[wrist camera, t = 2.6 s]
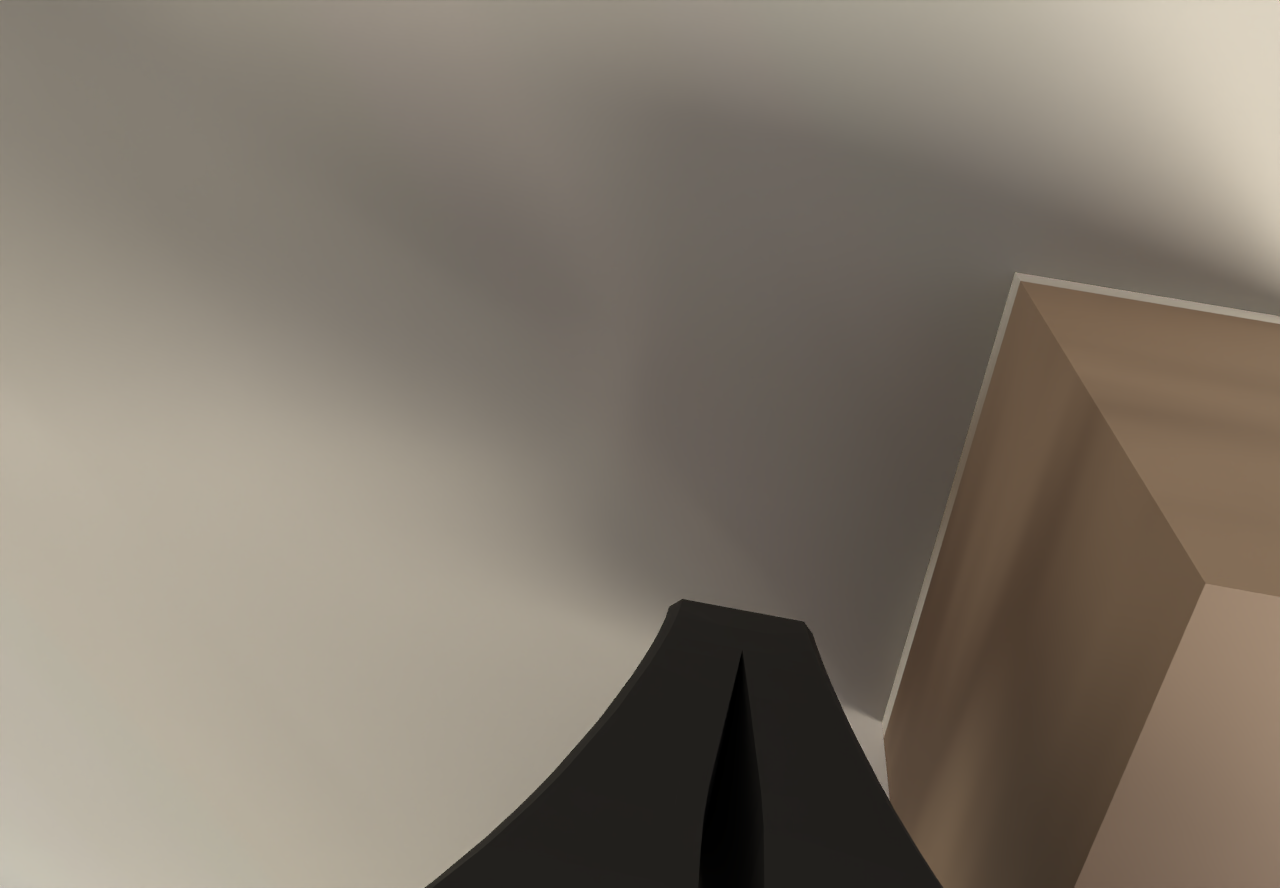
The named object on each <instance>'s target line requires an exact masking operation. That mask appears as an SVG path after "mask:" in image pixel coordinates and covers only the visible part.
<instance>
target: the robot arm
mask: <svg viewBox="0 0 1280 888" xmlns="http://www.w3.org/2000/svg"><path fill="white" fill-rule="evenodd" d="M425 888H943V887H942V885H941V884H940V882H939V881H938V879H937V878H936V876H935V875H934V873H933V871H932V870H931V868H930V867H929V865H928V864H927V862H926V861H925V859H924V857H923V856H922V854H921V853H920V851H919V850H918V848H917V846H916V845H915V843H914V841H913V840H912V838H911V836H910V835H909V833H908V831H907V830H906V828H905V826H904V825H903V823H902V821H901V820H900V818H899V816H898V815H897V813H896V811H895V810H894V808H893V806H892V804H891V802H890V801H889V799H888V797H887V795H886V794H885V792H884V790H883V788H882V786H881V785H880V783H879V781H878V779H877V777H876V775H875V773H874V771H873V769H872V767H871V765H870V763H869V762H868V760H867V758H866V756H865V754H864V752H863V750H862V748H861V746H860V744H859V742H858V740H857V738H856V736H855V734H854V732H853V730H852V728H851V726H850V724H849V722H848V720H847V718H846V716H845V713H844V711H843V709H842V707H841V704H840V702H839V700H838V698H837V695H836V693H835V691H834V689H833V687H832V684H831V682H830V679H829V677H828V675H827V672H826V670H825V667H824V665H823V662H822V660H821V657H820V654H819V651H818V649H817V646H816V643H815V640H814V637H813V634H812V633H811V631H810V630H809V628H808V627H807V625H806V624H805V623H804V622H802V621H797V620H791V619H786V618H781V617H775V616H770V615H765V614H759V613H754V612H749V611H743V610H738V609H732V608H727V607H722V606H716V605H711V604H706V603H700V602H695V601H690V600H684V599H682V600H680V601H678V602H677V603H675V604H673V605H671V606H670V607H669V609H668V612H667V615H666V618H665V620H664V623H663V625H662V627H661V629H660V631H659V633H658V635H657V637H656V638H655V640H654V642H653V644H652V645H651V647H650V649H649V650H648V652H647V653H646V655H645V657H644V658H643V660H642V661H641V663H640V664H639V666H638V667H637V669H636V670H635V672H634V673H633V675H632V676H631V678H630V679H629V680H628V682H627V683H626V684H625V686H624V687H623V688H622V690H621V691H620V692H619V694H618V695H617V696H616V698H615V699H614V700H613V702H612V703H611V704H610V706H609V707H608V709H607V710H606V711H605V713H604V714H603V715H602V716H601V718H600V719H599V720H598V721H597V723H596V724H595V725H594V726H593V727H592V729H591V730H590V731H589V732H588V733H587V734H586V735H585V737H584V738H583V739H582V740H581V741H580V742H579V743H578V744H577V746H576V747H575V748H574V749H573V750H572V751H571V752H570V754H569V755H568V756H567V757H566V758H565V759H564V760H563V762H562V763H561V764H560V765H559V766H558V767H557V768H556V770H555V771H554V772H553V773H552V774H551V775H550V776H549V777H548V778H547V779H546V780H545V781H544V782H543V783H542V784H541V785H540V786H539V787H538V788H537V789H536V790H535V791H534V792H533V793H532V794H531V795H530V796H529V797H528V798H527V799H526V800H525V801H524V802H523V803H522V804H521V805H520V806H519V807H518V808H517V809H516V810H515V811H514V812H513V813H512V814H511V815H510V816H509V817H507V818H506V819H505V820H504V821H503V822H502V823H501V824H500V825H499V826H498V827H497V828H496V829H495V830H493V831H492V832H491V833H490V834H489V835H488V836H487V837H486V838H485V839H483V840H482V841H481V842H480V843H479V844H478V845H476V846H475V847H474V848H473V849H471V850H470V851H469V852H468V853H467V854H465V855H464V856H463V857H462V858H461V859H459V860H458V861H457V862H456V863H455V864H453V865H452V866H451V867H450V868H449V869H447V870H446V871H445V872H444V873H443V874H441V875H440V876H439V877H438V878H437V879H435V880H434V881H433V882H432V883H430V884H429V885H428V886H426V887H425Z"/></svg>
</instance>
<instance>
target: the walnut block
mask: <svg viewBox="0 0 1280 888" xmlns="http://www.w3.org/2000/svg"><path fill="white" fill-rule="evenodd" d="M882 727H883V737H884V747H885V757H886V767H887V777H888V786H889V796H890V802H891V804H892V806H893V808H894V810H895V811H896V813H897V815H898V816H899V818H900V820H901V821H902V823H903V825H904V826H905V828H906V830H907V831H908V833H909V835H910V836H911V838H912V840H913V841H914V843H915V845H916V846H917V848H918V850H919V851H920V853H921V854H922V856H923V857H924V859H925V861H926V862H927V864H928V865H929V867H930V868H931V870H932V871H933V873H934V875H935V876H936V878H937V879H938V881H939V882H940V884H941V885H942V887H943V888H1280V316H1276V315H1270V314H1264V313H1258V312H1252V311H1246V310H1240V309H1234V308H1228V307H1222V306H1216V305H1210V304H1204V303H1198V302H1192V301H1186V300H1180V299H1174V298H1168V297H1162V296H1156V295H1150V294H1144V293H1138V292H1132V291H1125V290H1119V289H1113V288H1107V287H1101V286H1095V285H1089V284H1083V283H1077V282H1071V281H1065V280H1059V279H1053V278H1047V277H1041V276H1035V275H1029V274H1023V273H1017V272H1015V274H1014V277H1013V281H1012V284H1011V288H1010V291H1009V294H1008V298H1007V301H1006V304H1005V308H1004V311H1003V315H1002V318H1001V321H1000V325H999V328H998V332H997V335H996V338H995V342H994V345H993V348H992V352H991V355H990V359H989V362H988V365H987V369H986V372H985V376H984V379H983V382H982V386H981V389H980V392H979V396H978V399H977V403H976V406H975V409H974V413H973V416H972V420H971V423H970V426H969V430H968V433H967V436H966V440H965V443H964V447H963V450H962V453H961V457H960V460H959V464H958V467H957V470H956V474H955V477H954V480H953V484H952V487H951V491H950V494H949V497H948V501H947V504H946V508H945V511H944V514H943V518H942V521H941V524H940V528H939V531H938V535H937V538H936V541H935V545H934V548H933V551H932V555H931V558H930V562H929V565H928V568H927V572H926V575H925V579H924V582H923V585H922V589H921V592H920V595H919V599H918V602H917V606H916V609H915V612H914V616H913V619H912V623H911V626H910V629H909V633H908V636H907V639H906V643H905V646H904V650H903V653H902V656H901V660H900V663H899V667H898V670H897V673H896V677H895V680H894V683H893V687H892V690H891V694H890V697H889V700H888V704H887V707H886V711H885V714H884V717H883V721H882Z"/></svg>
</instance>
